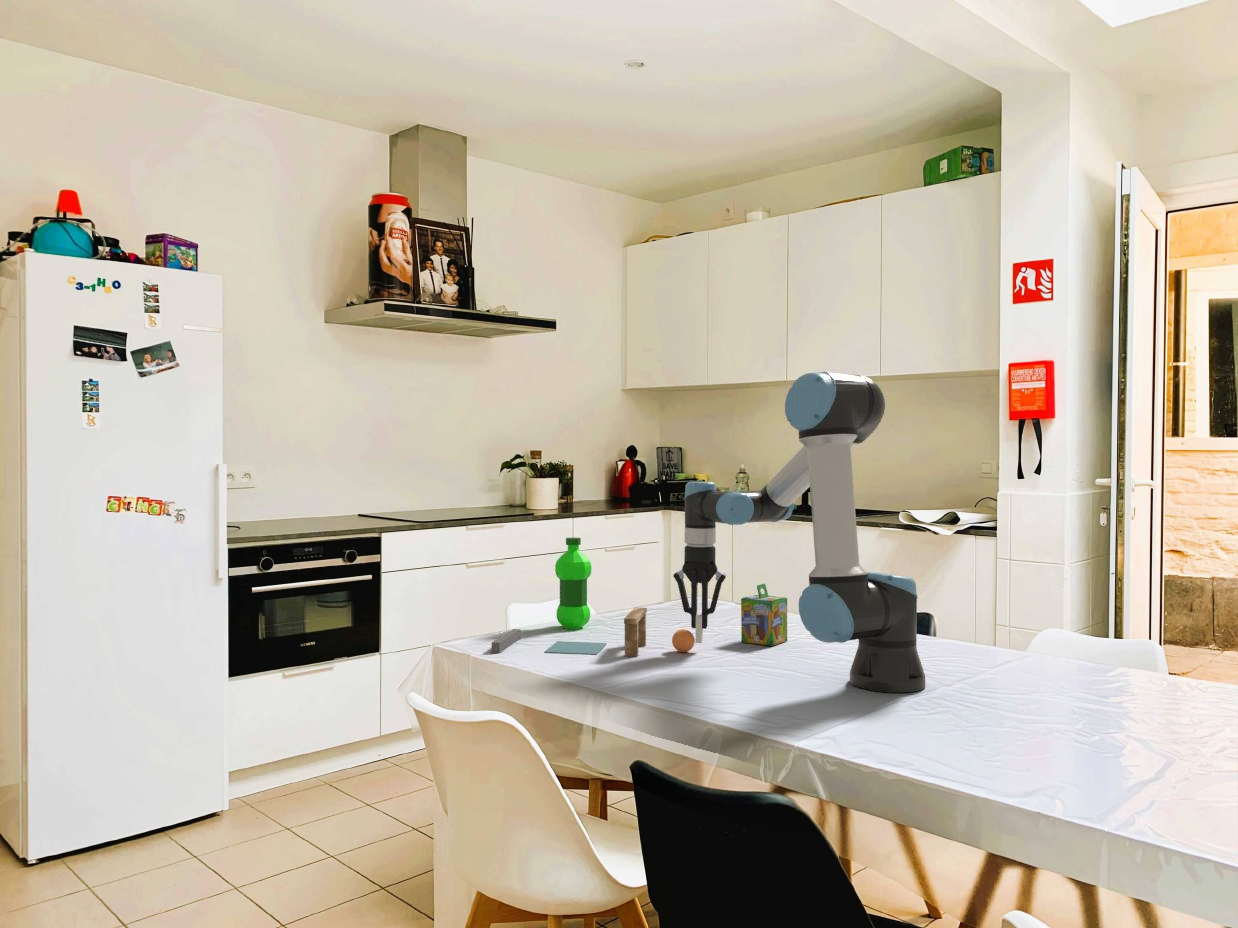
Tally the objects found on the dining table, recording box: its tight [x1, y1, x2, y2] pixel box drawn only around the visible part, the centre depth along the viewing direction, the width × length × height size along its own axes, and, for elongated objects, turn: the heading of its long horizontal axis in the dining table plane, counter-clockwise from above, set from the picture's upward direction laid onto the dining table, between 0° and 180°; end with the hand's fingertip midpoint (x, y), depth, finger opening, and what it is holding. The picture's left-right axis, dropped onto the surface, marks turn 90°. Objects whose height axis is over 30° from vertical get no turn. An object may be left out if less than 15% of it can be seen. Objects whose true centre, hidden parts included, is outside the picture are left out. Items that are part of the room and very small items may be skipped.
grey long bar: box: [491, 628, 522, 654], centre depth 228 cm, size 18×2×2 cm, turn 170°
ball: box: [671, 628, 696, 653], centre depth 221 cm, size 6×6×6 cm
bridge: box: [623, 607, 648, 658], centre depth 222 cm, size 3×16×9 cm, turn 170°
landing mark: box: [543, 640, 608, 656], centre depth 225 cm, size 13×13×1 cm
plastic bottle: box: [554, 537, 592, 630], centre depth 253 cm, size 10×10×25 cm
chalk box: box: [740, 583, 788, 647], centre depth 233 cm, size 9×9×15 cm
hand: (699, 641), depth 220 cm, fingers closed
